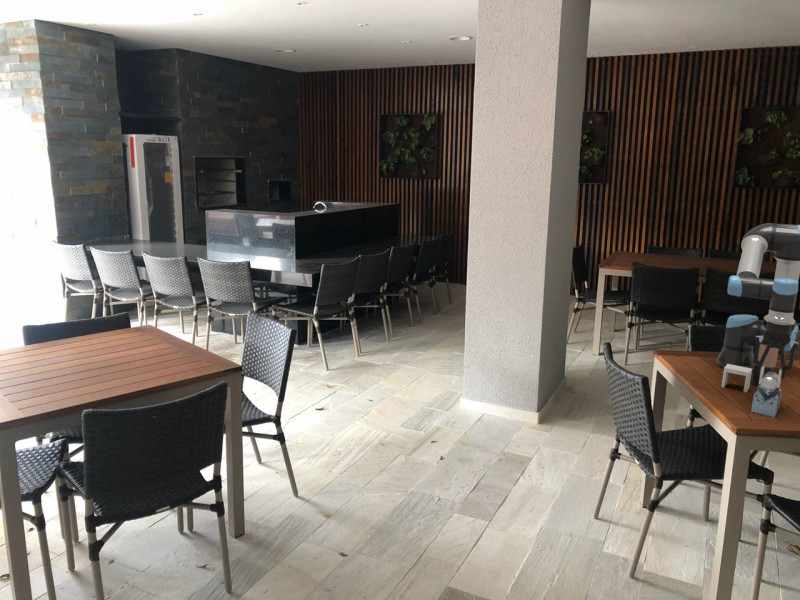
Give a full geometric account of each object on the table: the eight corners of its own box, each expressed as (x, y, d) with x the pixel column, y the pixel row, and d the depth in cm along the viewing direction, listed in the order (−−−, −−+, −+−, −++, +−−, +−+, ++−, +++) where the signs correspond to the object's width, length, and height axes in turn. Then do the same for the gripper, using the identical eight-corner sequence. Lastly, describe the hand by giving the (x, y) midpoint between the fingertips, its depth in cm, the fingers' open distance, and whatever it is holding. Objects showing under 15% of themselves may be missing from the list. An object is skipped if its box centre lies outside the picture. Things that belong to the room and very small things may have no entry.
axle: (761, 380, 239) (768, 369, 237) (774, 387, 236) (782, 376, 234) (757, 387, 231) (764, 375, 229) (771, 394, 228) (778, 383, 226)
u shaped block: (724, 382, 264) (727, 363, 262) (749, 387, 258) (752, 368, 257) (721, 387, 258) (724, 367, 256) (746, 392, 253) (749, 372, 251)
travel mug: (765, 382, 266) (773, 335, 262) (776, 388, 259) (784, 340, 255) (747, 381, 266) (754, 334, 262) (757, 387, 258) (765, 339, 254)
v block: (756, 402, 242) (759, 383, 240) (778, 407, 238) (781, 388, 236) (751, 411, 232) (754, 392, 231) (774, 417, 228) (777, 397, 226)
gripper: (749, 319, 230) (739, 381, 235) (808, 328, 220) (796, 393, 225) (752, 316, 236) (743, 376, 241) (810, 325, 226) (799, 388, 231)
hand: (769, 384), depth 233 cm, fingers closed on axle, 5 cm apart
